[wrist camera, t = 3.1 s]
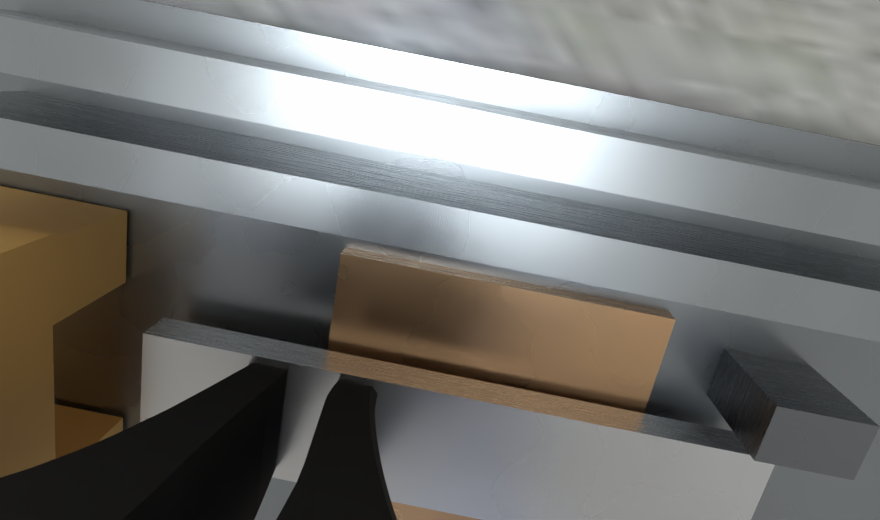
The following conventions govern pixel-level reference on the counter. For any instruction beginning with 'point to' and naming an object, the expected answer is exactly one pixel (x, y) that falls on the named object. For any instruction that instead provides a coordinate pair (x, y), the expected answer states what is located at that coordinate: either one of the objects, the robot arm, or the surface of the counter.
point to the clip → (49, 317)
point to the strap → (476, 436)
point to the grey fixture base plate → (459, 231)
